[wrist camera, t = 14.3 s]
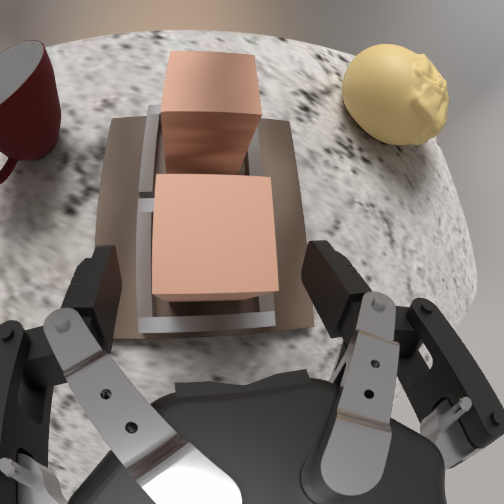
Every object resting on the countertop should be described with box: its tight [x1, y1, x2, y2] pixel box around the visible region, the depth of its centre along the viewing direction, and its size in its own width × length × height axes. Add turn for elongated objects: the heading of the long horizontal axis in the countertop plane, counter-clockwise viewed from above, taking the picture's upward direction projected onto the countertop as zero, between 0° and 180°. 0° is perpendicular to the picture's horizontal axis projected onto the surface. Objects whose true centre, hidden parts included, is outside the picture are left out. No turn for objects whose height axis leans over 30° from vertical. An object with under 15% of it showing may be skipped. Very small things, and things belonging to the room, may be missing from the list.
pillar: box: [152, 174, 279, 302], centre depth 16 cm, size 5×5×9 cm
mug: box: [0, 40, 61, 184], centre depth 15 cm, size 11×8×10 cm
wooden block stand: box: [95, 51, 314, 339], centre depth 17 cm, size 16×18×10 cm
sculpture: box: [342, 44, 449, 145], centre depth 24 cm, size 12×12×11 cm
